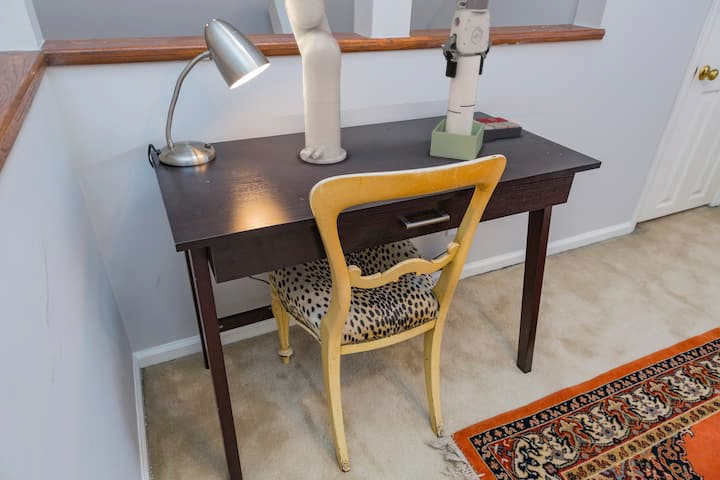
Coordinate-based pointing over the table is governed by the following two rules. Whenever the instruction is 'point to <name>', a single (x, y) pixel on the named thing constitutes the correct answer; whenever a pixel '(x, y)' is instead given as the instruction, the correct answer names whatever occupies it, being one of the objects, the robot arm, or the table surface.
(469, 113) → the cylindrical container
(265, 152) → the table surface
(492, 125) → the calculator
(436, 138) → the tote
